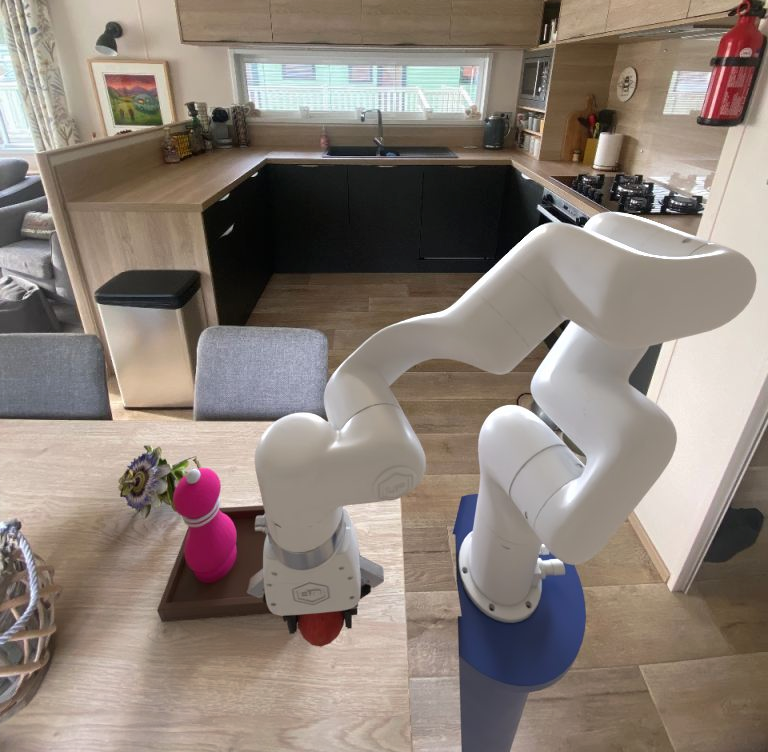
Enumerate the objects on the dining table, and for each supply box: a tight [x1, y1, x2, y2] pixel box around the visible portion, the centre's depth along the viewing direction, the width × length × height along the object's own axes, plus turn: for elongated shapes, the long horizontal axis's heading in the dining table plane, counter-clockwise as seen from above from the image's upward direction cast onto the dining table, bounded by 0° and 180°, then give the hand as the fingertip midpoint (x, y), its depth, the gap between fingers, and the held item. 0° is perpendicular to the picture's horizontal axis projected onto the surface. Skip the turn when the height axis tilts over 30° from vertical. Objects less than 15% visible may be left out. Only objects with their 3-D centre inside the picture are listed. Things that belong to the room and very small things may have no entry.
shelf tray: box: [156, 504, 274, 623], centre depth 61 cm, size 22×14×3 cm, turn 94°
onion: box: [297, 610, 345, 648], centre depth 47 cm, size 6×6×8 cm
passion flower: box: [117, 444, 202, 520], centre depth 70 cm, size 11×11×12 cm
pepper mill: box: [173, 467, 237, 583], centre depth 57 cm, size 7×7×20 cm
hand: (322, 614), depth 47 cm, fingers closed on onion, 5 cm apart
